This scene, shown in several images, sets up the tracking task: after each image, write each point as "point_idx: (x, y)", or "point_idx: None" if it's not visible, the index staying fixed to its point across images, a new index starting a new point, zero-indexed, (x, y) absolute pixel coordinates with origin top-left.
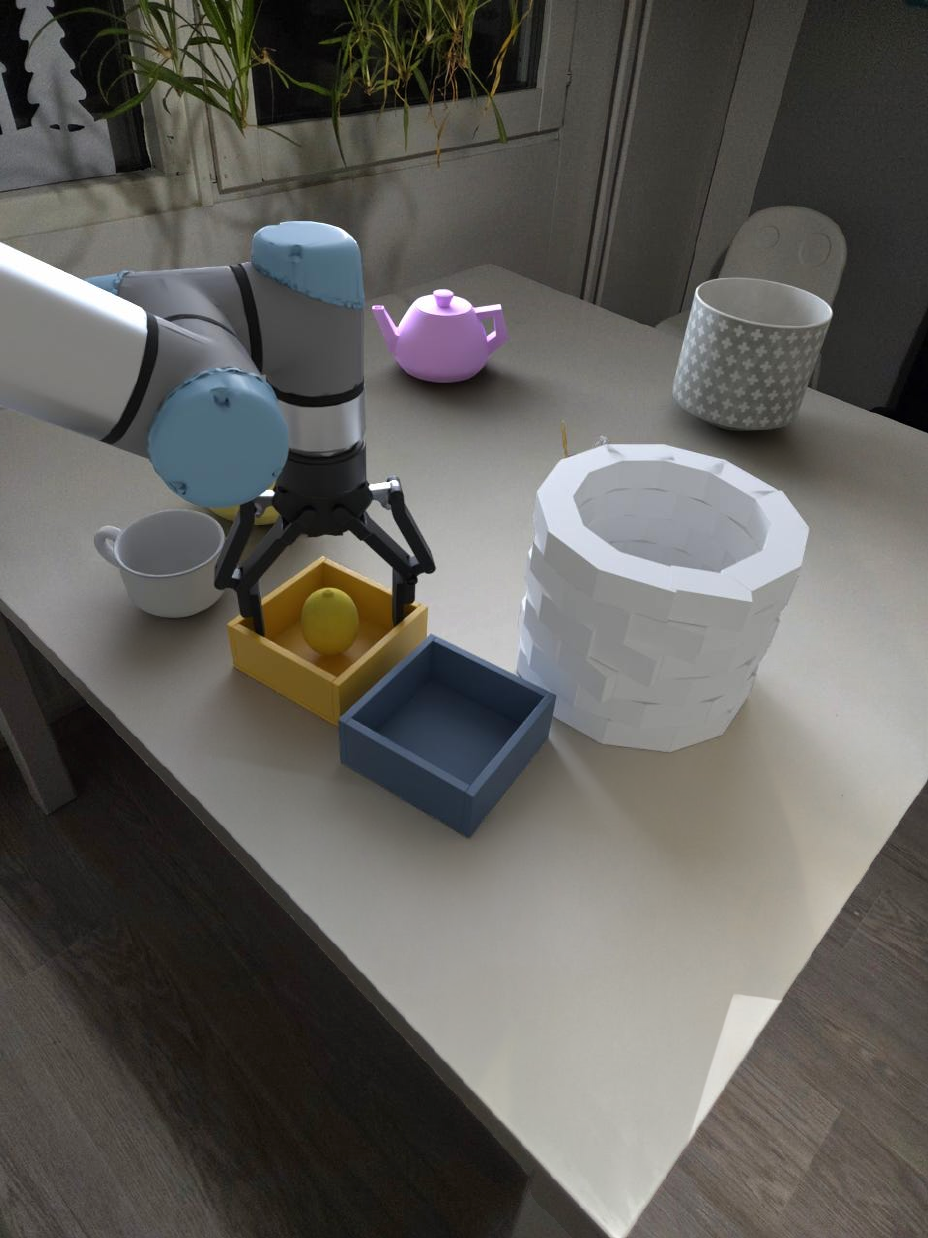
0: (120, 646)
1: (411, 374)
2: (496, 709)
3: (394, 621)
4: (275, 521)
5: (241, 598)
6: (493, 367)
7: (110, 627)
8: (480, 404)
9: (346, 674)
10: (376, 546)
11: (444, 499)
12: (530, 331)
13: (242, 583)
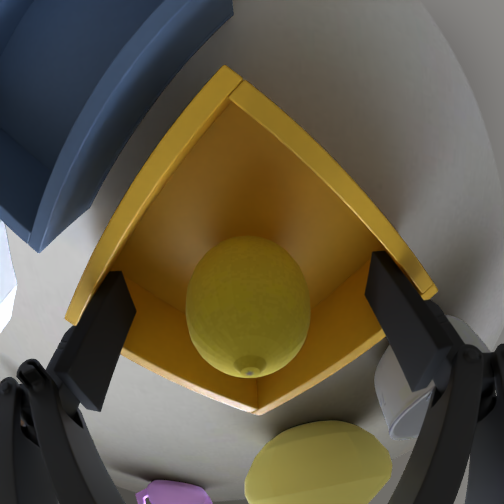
0: (478, 277)
1: (194, 486)
2: (4, 135)
3: (120, 298)
4: (304, 427)
5: (452, 336)
6: (145, 480)
7: (475, 301)
8: (144, 470)
9: (200, 107)
10: (80, 498)
11: (143, 432)
12: (133, 485)
13: (477, 369)
